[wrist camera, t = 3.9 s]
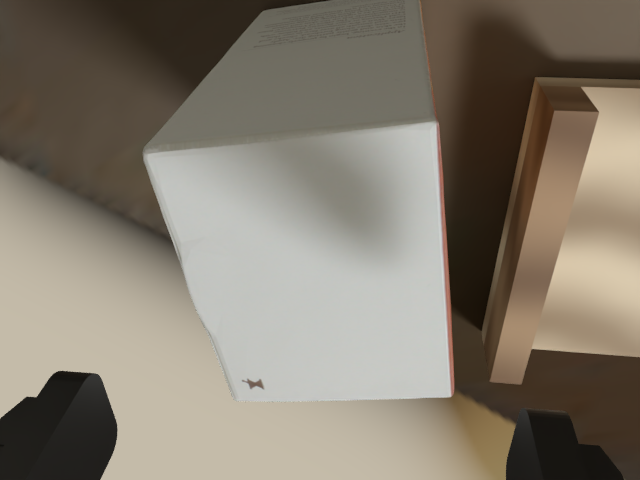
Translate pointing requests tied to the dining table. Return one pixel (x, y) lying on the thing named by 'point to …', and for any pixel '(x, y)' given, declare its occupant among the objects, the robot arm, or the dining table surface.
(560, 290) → the slot rack
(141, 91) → the dining table surface
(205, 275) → the small box
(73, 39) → the dining table surface
